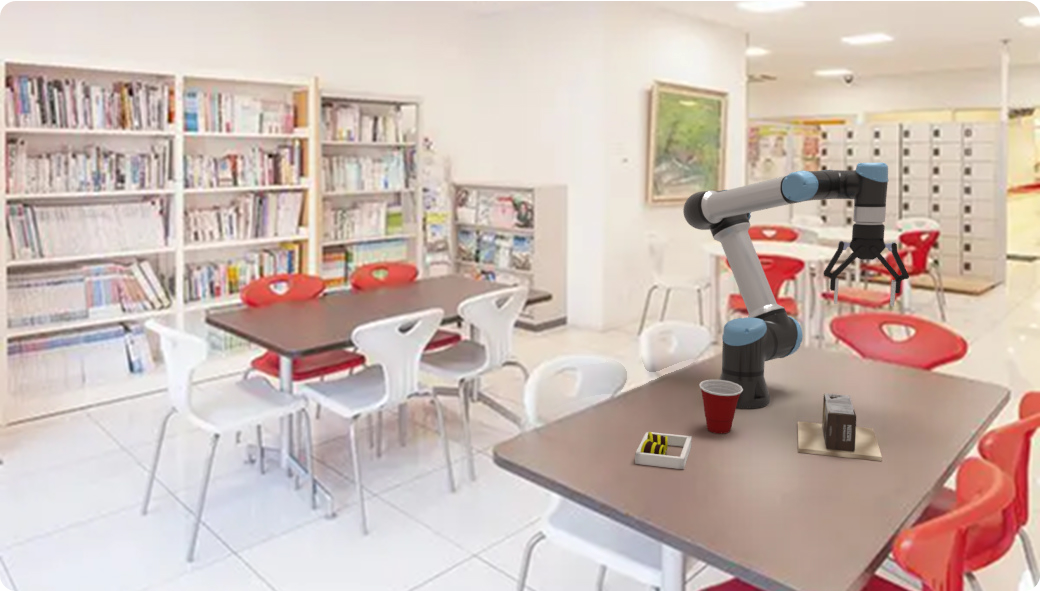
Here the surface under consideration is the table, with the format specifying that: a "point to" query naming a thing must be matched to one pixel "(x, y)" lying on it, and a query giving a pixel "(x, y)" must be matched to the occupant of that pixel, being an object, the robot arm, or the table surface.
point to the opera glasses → (655, 444)
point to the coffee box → (839, 422)
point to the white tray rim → (666, 459)
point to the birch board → (815, 444)
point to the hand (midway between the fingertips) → (863, 304)
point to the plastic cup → (720, 404)
